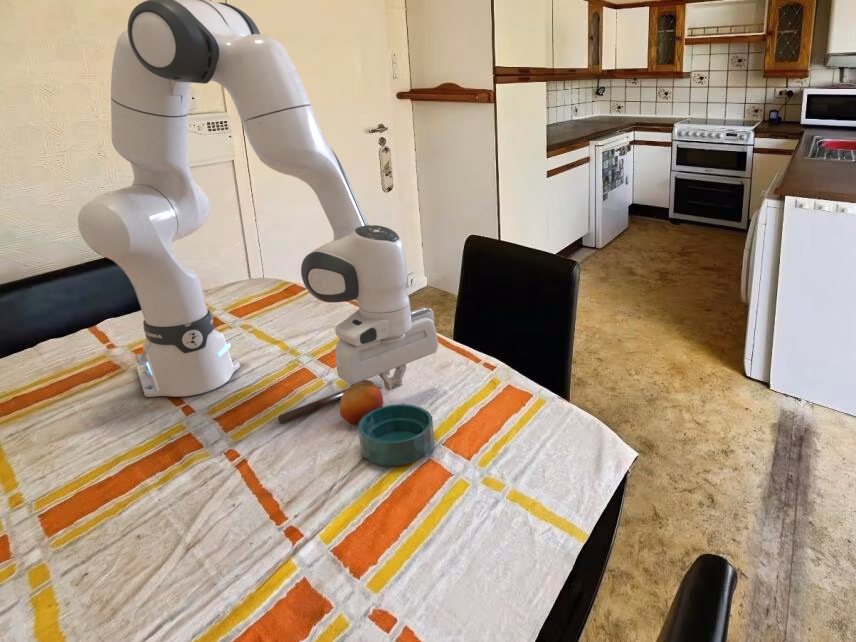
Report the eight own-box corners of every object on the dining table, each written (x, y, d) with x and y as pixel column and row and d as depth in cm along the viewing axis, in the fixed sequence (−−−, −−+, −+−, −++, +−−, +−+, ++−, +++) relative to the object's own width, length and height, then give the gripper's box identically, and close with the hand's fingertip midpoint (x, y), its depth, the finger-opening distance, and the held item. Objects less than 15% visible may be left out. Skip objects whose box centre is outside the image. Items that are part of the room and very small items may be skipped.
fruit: (385, 426, 109) (358, 390, 107) (351, 442, 112) (325, 407, 110) (400, 403, 116) (375, 369, 114) (368, 418, 119) (343, 385, 117)
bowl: (347, 447, 106) (344, 422, 104) (405, 420, 114) (403, 397, 111) (389, 478, 99) (386, 452, 96) (448, 447, 106) (447, 422, 104)
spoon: (273, 419, 114) (271, 412, 113) (366, 382, 127) (365, 375, 126) (284, 428, 111) (283, 421, 111) (378, 390, 124) (377, 383, 123)
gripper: (422, 299, 119) (427, 364, 126) (326, 330, 106) (337, 400, 113) (443, 308, 115) (447, 374, 122) (346, 341, 102) (356, 413, 109)
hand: (393, 387), depth 117 cm, fingers closed
